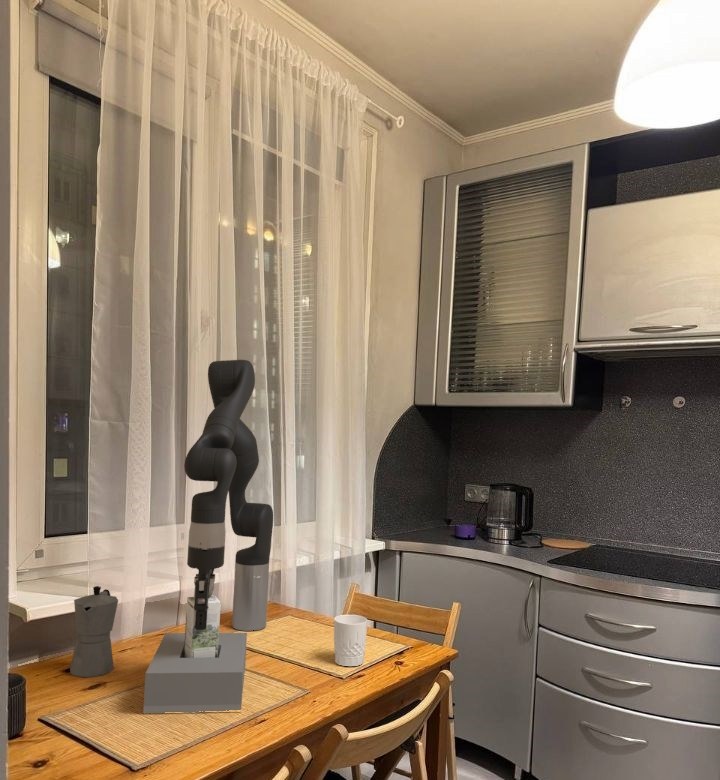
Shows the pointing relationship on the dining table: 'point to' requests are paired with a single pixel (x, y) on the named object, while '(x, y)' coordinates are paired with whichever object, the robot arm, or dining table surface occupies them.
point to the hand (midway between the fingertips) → (202, 623)
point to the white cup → (349, 639)
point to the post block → (196, 677)
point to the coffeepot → (94, 634)
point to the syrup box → (202, 640)
